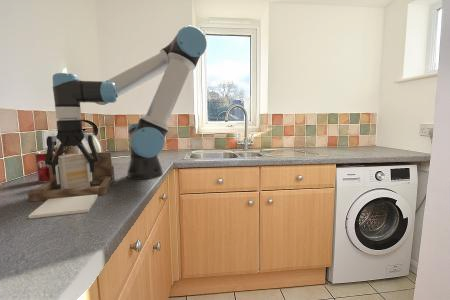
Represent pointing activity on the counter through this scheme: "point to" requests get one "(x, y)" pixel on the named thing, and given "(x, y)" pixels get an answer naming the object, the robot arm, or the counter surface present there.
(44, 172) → the soda can
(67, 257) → the counter surface
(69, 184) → the supplement box
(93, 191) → the walnut case
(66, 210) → the off-white pad
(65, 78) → the robot arm
